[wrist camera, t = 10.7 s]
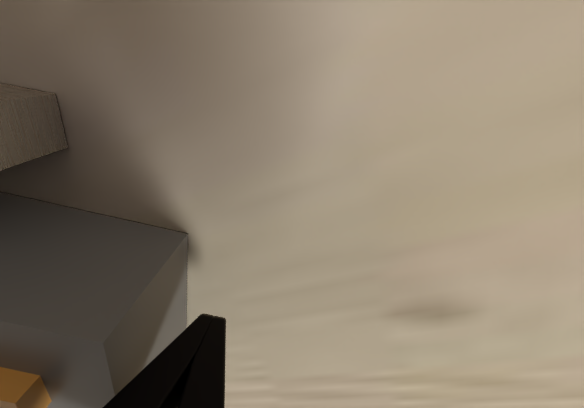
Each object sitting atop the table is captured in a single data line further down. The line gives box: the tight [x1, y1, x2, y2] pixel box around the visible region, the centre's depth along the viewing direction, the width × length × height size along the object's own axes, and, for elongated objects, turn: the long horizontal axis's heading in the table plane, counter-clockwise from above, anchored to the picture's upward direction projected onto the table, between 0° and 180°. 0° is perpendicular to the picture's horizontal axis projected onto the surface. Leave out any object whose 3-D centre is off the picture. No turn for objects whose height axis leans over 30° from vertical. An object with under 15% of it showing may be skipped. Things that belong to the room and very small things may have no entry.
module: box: [0, 192, 188, 408], centre depth 8 cm, size 5×7×5 cm
